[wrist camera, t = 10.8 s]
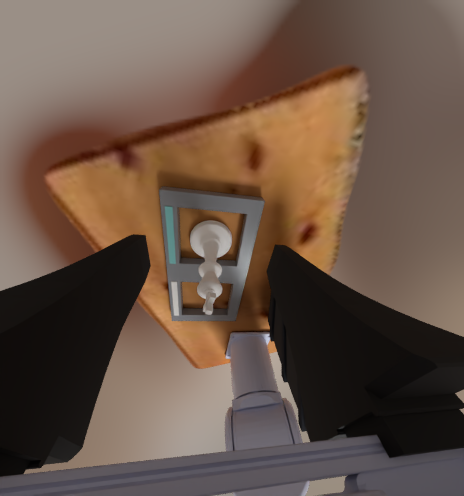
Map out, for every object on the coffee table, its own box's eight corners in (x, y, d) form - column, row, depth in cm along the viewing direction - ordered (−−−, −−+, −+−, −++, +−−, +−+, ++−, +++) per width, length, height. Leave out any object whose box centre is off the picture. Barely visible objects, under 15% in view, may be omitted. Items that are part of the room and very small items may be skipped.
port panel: (234, 314, 28) (235, 321, 27) (173, 314, 27) (171, 321, 26) (262, 197, 18) (265, 201, 17) (162, 186, 16) (158, 189, 15)
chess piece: (238, 228, 19) (256, 296, 11) (223, 260, 22) (228, 336, 14) (196, 214, 18) (181, 280, 10) (185, 249, 20) (165, 327, 12)
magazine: (266, 339, 31) (307, 447, 16) (262, 269, 29) (304, 318, 14) (287, 336, 31) (345, 441, 16) (284, 267, 29) (347, 313, 14)
